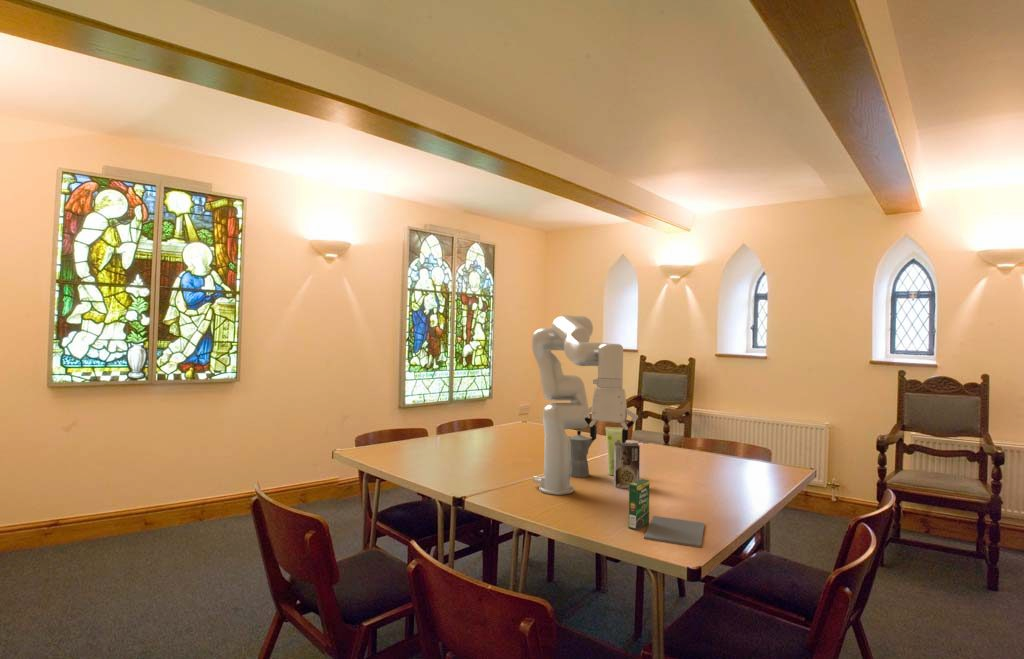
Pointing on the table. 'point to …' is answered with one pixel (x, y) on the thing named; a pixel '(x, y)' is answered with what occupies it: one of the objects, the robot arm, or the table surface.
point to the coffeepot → (579, 455)
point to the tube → (612, 445)
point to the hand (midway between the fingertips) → (608, 440)
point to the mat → (675, 531)
